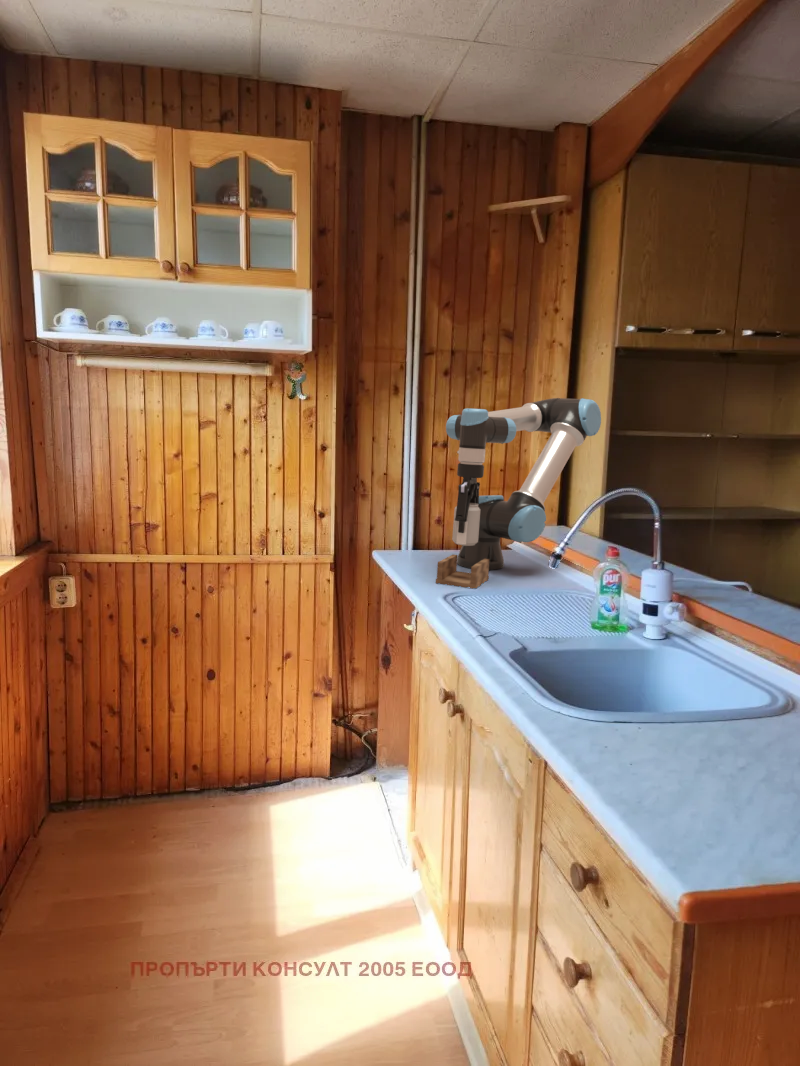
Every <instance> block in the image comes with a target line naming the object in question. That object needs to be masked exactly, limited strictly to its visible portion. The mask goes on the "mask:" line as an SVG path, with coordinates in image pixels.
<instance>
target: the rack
mask: <svg viewBox="0 0 800 1066" xmlns="http://www.w3.org/2000/svg"><path fill="white" fill-rule="evenodd" d="M458 555H459V554H451V555H449V556H447V557H445V558H443V559H441V560H439V561H437V569H436V571H437V572H436V578H435V584H438V583H440V584H439V585H445V584H447V586H452V585H454V586H453V587H459V586H461V588H466V587H470V588H469V589H473V588H476V589H478V588H479V587H481V586H482V585H483V584H484V582H485V581H486V582H487V581H489V580H488V579H490V575H489V559H483V560H481V561H480V562H478V563H477V564H475V565H473V566H472V567H471V568H470V572H467V571H466V572H465V571H458V570H457V569H458V564H457V559H458ZM486 582H485V583H486ZM482 583H483V584H482ZM481 584H482V585H481ZM480 585H481V586H480ZM478 586H479V587H478ZM477 587H478V588H477Z"/></svg>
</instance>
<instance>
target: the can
mask: <svg viewBox="0 0 800 1066" xmlns="http://www.w3.org/2000/svg"><path fill="white" fill-rule="evenodd" d="M478 505H479V504H476V503H470V505H469V510H468V515H467V521H466V522H468V525H467V538H466V544H457V543H456V540H457V526H458V521H455V518H456V510H457V505H456V506H455V507H454V509H453V510H454V511H453V526H452V527H453V528H452V539H451V540H452V541H453V542H454V544H456V545H459V546H462V545H464V546H472V545H475V544H476V543H477V542H478V536H479V523H480V508H479V507H478Z"/></svg>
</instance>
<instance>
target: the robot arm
mask: <svg viewBox="0 0 800 1066" xmlns="http://www.w3.org/2000/svg"><path fill="white" fill-rule="evenodd" d="M601 424H602V413H601V408H600V407H599V405H598V403H597V402H596V401H595V400H593V399H588V398H582V397H581V398H565V397H563V398H562V397H560V398H559V397H554V398H553V397H551V398H547V399H541V400H537V401H534V402H533V401H531V402H527V403H524V404H523V405H522V406H521V407H513V408H507V409H501V410H500V409H498V410H493V411H489V410H487V409H484V408H468V407H467V408H464V409H463V410H462V411H461V414H454V415H451V416H449V418H448V419H447V421H446V424H445V432H446V435H447V436H448V437H449V438H451V439H452V440H457V441H459V446H458V447H459V448H458V450H457V452H456V453H457V454H458V462H460V463H458V464H457V473H456V475H457V476H458V477H462V482H461V484H459V485H458V487H457V488H458V495H457V501H456V502H457V503H456V506H457V510H456V518H455V521H458V526H457V540H456V543H457V544H456V545H458V544H466V538H467V525H468V522H466V521H467V515H468V510H469V505H470V503H476V504H479V505H478V507H479V508H480V523H479V536H478V542H477V543H476V544H475V545H472V546H464V545H461V548H460V550H459V553H458V554H457V555H458V556H457V566H460V567H464V568H467V569H471V567H472V566H473V565H475V564H477V563H478V562H480V561H481V560H483V559H489V570H490V571H491V570H499V569H503V568H504V565H505V559H504V556H503V552H502V546H501V538H502V539H505V540H506V539H507V540H511V541H513V542H518V543H532V542H534V541H536V540H537V539H538V538H539V537H540V536H541V535H542V533H543V532H544V529H545V527H546V521H547V515H546V512H545V511H546V507H545V504H544V503H545V501H546V500H547V498H548V496H549V495H550V493H551V490H552V489H553V488H554V486H555V483H556V482H557V481H558V478H559V476H560V475H561V473H562V471H563V470H564V467H565V466H566V464H567V462H568V460H569V459H570V457H571V455H572V453H574V450H575V448H576V447H580V446H582V444H584V442H585V440H586V438H587V437H592V436H595V435H597V434H598V433H599V431H600V428H601ZM520 431H526V432H529V433H531V432H542V433H550V434H551V435H550V436H549V438H548V440H547V442H546V443H545V445H544V447H543V449H542V451H541V453H539V456H538V458H537V459H536V461H535V463H534V464H533V466H532V467H531V469H530V472H528V475H527V476H526V478H525V480H524V482H523V483H522V485H521V487H520V489H519V490H515V491H513V492H512V493H511V495H510V496H509V498H508V500H505V498H504V496H503V495H501V494H500V495H499V494H492V495H489V494H488V495H480V487H481V486H480V485H481V483H480V482H478V479H482V478H483V477H484V471H485V465H484V463H485V461H486V446H487V443H489V444H502V445H503V444H508V443H511V442H513V440H514V439H515V437H516V435H517V432H520Z"/></svg>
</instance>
